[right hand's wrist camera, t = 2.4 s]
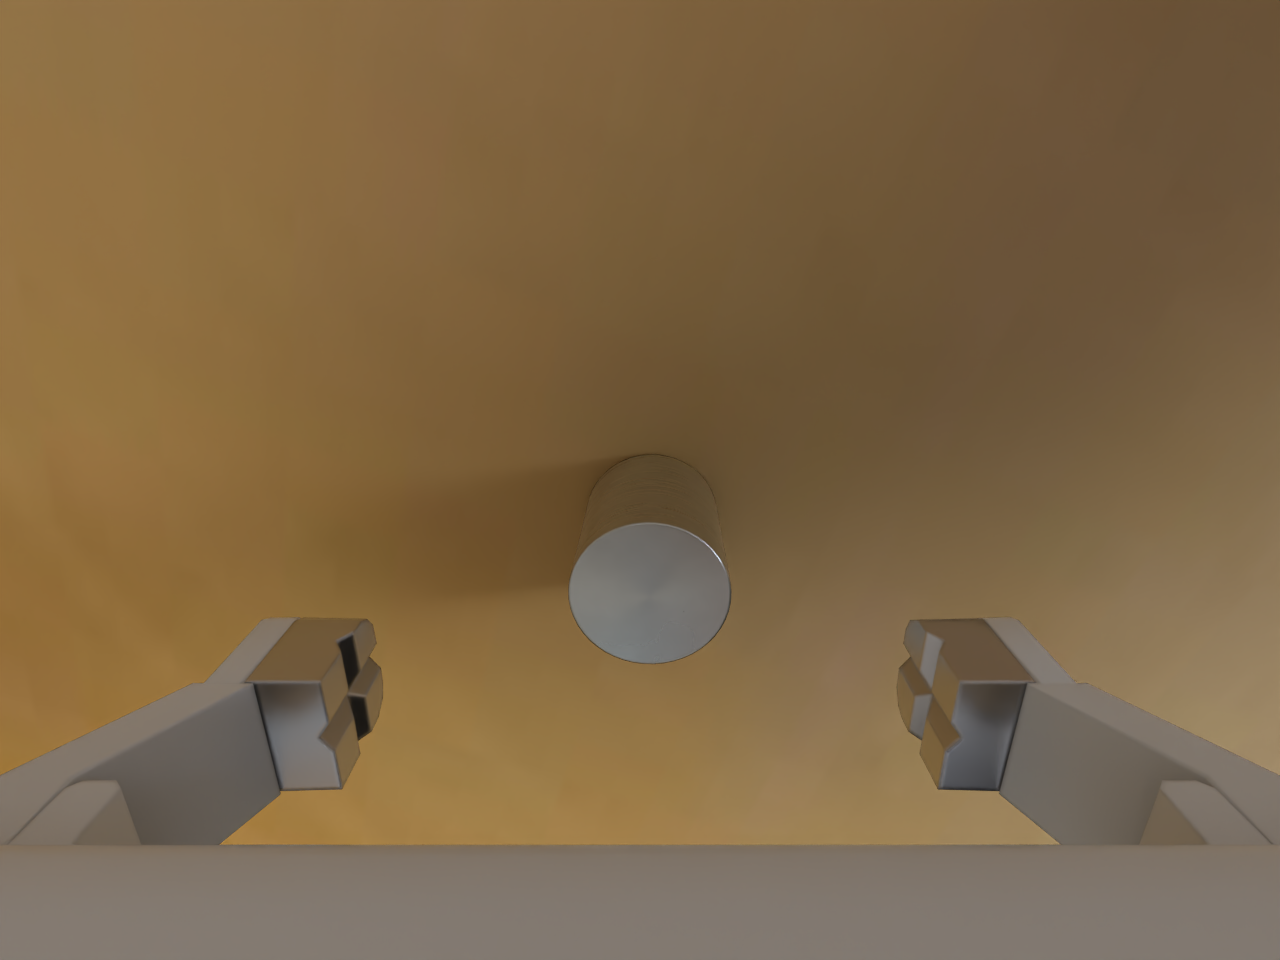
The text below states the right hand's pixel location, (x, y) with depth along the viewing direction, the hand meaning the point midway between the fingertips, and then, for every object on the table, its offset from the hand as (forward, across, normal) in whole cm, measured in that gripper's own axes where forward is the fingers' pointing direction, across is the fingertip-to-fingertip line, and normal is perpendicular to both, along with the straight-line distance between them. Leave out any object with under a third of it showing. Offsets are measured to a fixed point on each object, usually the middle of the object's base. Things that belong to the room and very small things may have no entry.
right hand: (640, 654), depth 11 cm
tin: (+9, 0, -2) cm, 9 cm away
